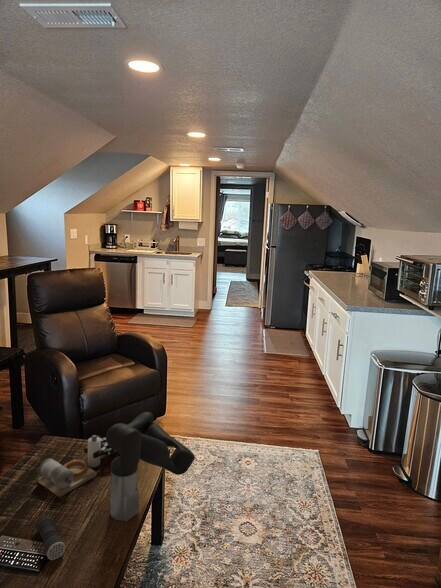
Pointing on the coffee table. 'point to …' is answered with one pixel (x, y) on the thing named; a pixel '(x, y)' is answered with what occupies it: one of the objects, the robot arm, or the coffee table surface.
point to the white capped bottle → (93, 447)
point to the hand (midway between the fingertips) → (89, 453)
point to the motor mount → (64, 475)
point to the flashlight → (50, 537)
